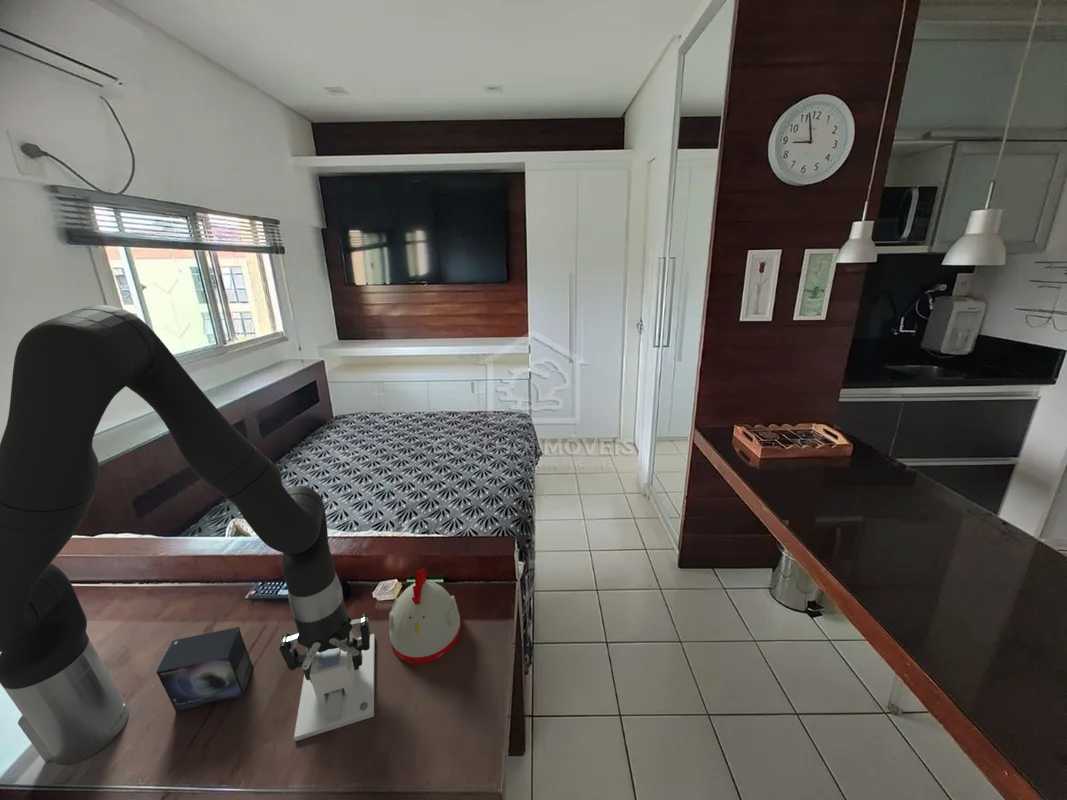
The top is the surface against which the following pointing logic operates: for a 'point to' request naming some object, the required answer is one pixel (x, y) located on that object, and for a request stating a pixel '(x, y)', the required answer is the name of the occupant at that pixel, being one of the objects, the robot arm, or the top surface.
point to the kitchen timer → (423, 621)
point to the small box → (205, 669)
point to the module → (332, 673)
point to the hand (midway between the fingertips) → (336, 671)
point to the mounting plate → (351, 702)
